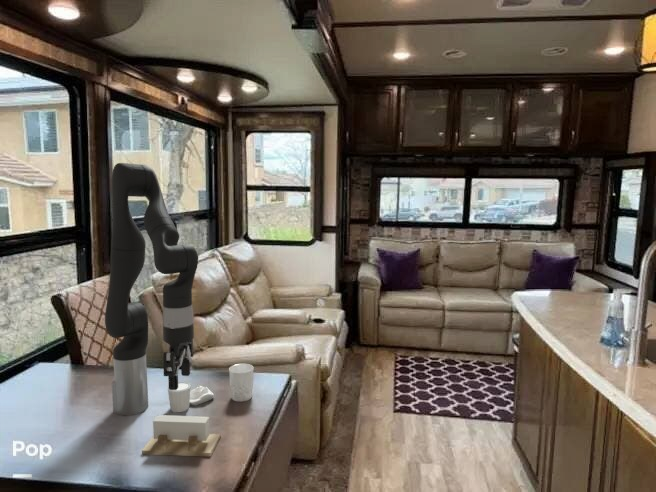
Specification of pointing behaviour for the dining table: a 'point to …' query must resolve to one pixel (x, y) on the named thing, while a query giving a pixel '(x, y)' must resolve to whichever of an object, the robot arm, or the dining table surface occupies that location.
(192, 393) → the rose
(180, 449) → the rack
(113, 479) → the dining table surface
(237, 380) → the white cup
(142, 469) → the dining table surface
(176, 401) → the white short tapered cylinder
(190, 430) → the white rectangular block
